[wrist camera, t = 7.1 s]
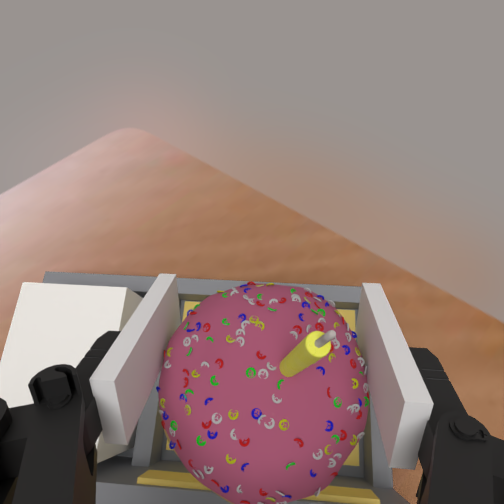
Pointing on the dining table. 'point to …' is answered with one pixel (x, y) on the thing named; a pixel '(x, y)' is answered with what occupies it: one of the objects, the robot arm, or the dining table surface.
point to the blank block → (61, 336)
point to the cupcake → (263, 393)
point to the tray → (169, 464)
